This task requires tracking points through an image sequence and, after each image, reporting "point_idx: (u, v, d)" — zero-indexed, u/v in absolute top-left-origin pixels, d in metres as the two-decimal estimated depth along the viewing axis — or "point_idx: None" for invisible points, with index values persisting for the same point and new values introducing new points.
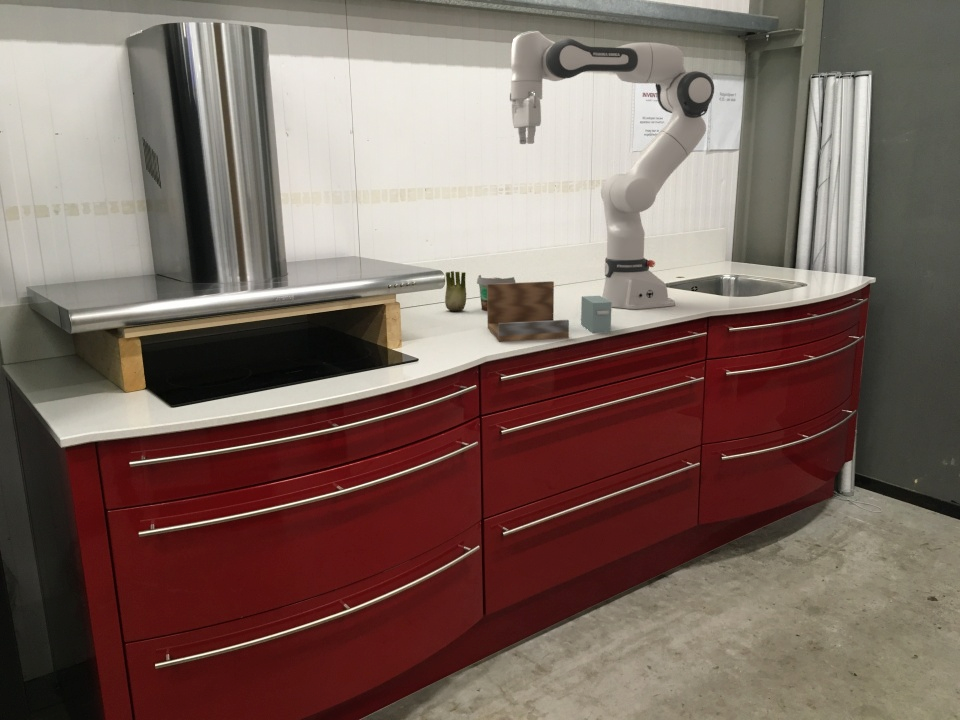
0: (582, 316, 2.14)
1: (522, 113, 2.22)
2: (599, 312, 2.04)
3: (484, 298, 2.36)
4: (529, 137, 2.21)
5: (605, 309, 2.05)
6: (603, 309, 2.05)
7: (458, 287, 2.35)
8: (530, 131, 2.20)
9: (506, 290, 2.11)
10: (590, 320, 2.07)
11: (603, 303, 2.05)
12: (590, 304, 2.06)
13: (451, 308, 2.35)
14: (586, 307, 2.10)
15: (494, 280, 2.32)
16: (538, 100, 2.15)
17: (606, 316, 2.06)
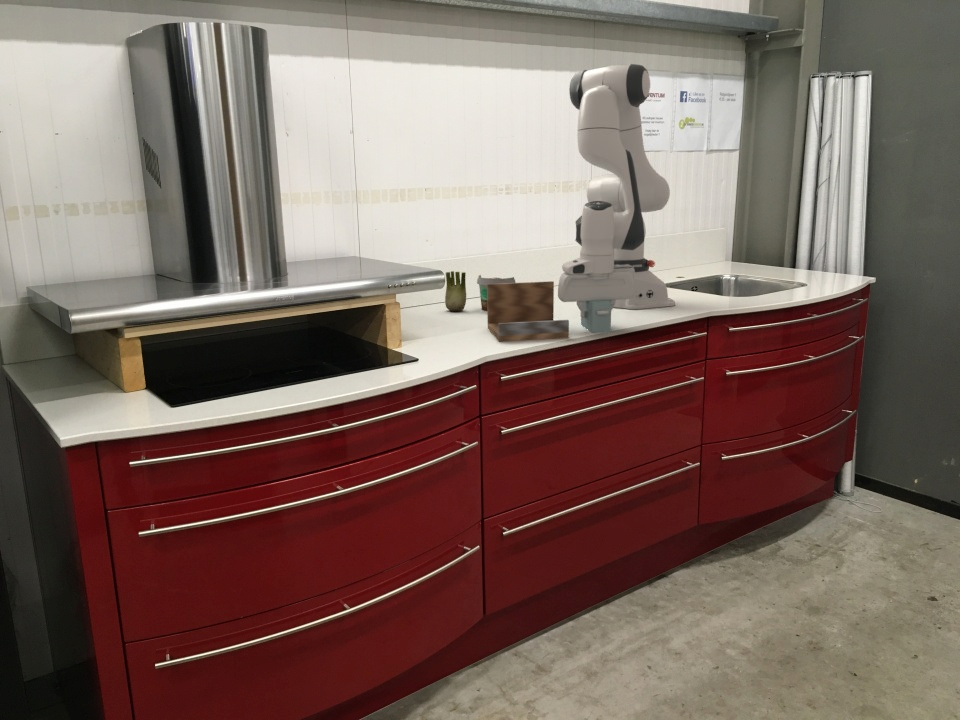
0: None
1: (607, 286, 2.07)
2: (599, 312, 2.04)
3: (484, 298, 2.36)
4: None
5: (605, 309, 2.05)
6: (603, 309, 2.05)
7: (458, 287, 2.35)
8: None
9: (506, 290, 2.11)
10: (590, 320, 2.07)
11: (603, 303, 2.05)
12: (590, 303, 2.06)
13: (451, 308, 2.35)
14: (586, 307, 2.10)
15: (494, 280, 2.32)
16: None
17: (606, 316, 2.06)
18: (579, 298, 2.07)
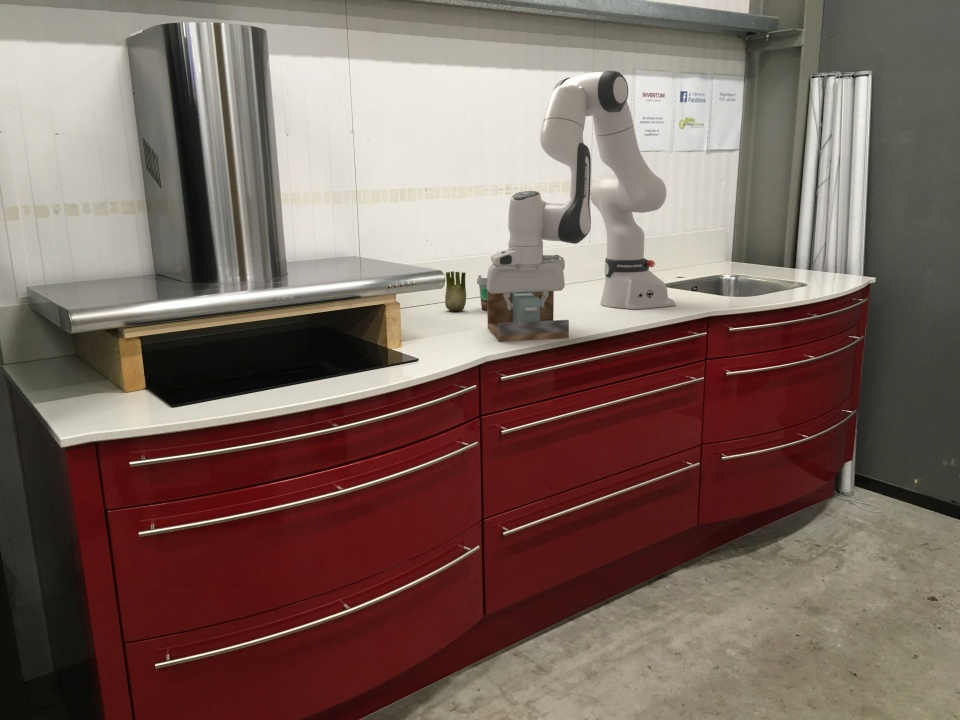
0: (513, 313, 2.11)
1: (536, 278, 2.04)
2: (527, 309, 2.01)
3: (484, 298, 2.36)
4: None
5: (533, 306, 2.02)
6: (531, 306, 2.02)
7: (458, 287, 2.35)
8: None
9: None
10: (519, 317, 2.04)
11: (531, 300, 2.02)
12: (518, 300, 2.03)
13: (451, 308, 2.35)
14: (516, 304, 2.07)
15: None
16: None
17: (535, 313, 2.03)
18: (507, 290, 2.03)
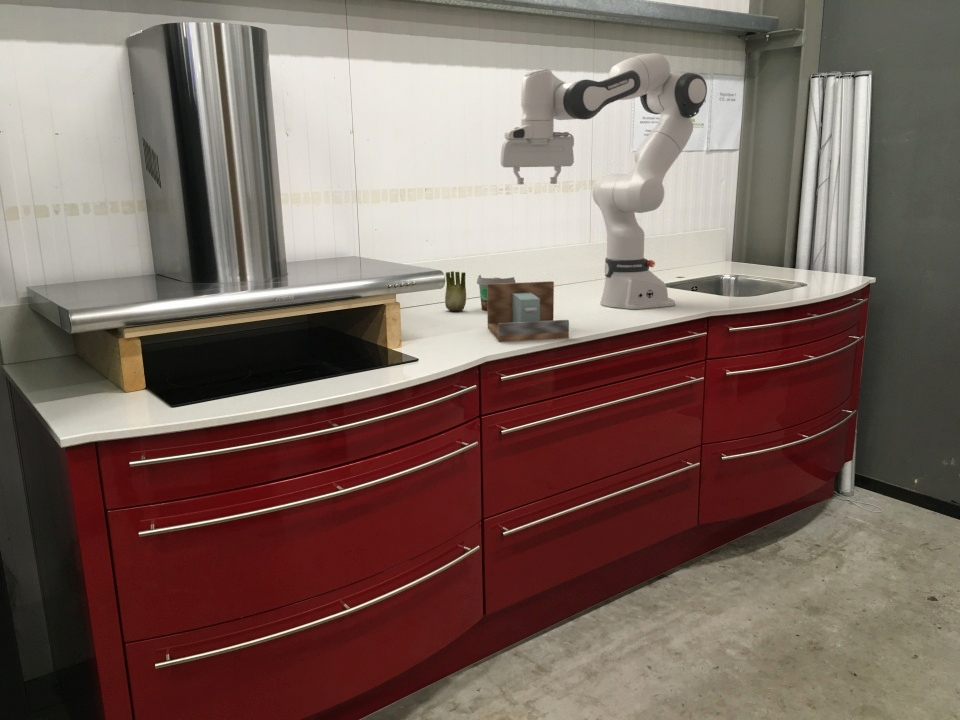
0: (513, 313, 2.11)
1: (547, 153, 2.17)
2: (527, 309, 2.01)
3: (484, 298, 2.36)
4: None
5: (533, 306, 2.02)
6: (531, 306, 2.02)
7: (458, 287, 2.35)
8: None
9: (506, 290, 2.11)
10: (519, 317, 2.04)
11: (531, 300, 2.02)
12: (518, 300, 2.03)
13: (451, 308, 2.35)
14: (516, 304, 2.07)
15: (494, 280, 2.32)
16: None
17: (535, 313, 2.03)
18: (520, 164, 2.16)
